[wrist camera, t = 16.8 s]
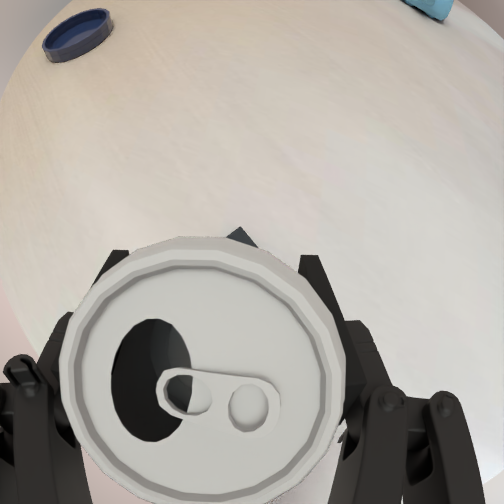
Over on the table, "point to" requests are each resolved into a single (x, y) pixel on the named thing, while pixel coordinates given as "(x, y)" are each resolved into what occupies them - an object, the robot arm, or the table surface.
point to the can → (203, 373)
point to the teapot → (433, 7)
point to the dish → (77, 35)
